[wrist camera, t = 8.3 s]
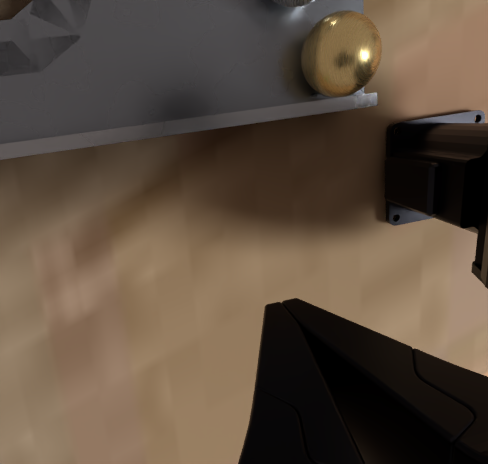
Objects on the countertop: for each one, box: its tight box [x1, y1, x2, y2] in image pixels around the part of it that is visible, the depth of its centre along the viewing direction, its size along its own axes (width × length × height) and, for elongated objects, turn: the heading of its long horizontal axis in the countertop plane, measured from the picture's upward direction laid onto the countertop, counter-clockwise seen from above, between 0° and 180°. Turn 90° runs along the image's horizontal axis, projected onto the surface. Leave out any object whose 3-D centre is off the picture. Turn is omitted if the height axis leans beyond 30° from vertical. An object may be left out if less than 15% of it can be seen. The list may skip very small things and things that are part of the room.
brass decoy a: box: [301, 10, 382, 97], centre depth 15 cm, size 3×3×3 cm
